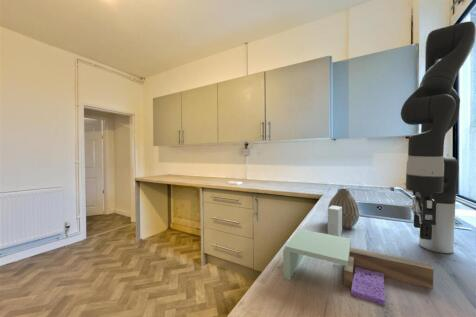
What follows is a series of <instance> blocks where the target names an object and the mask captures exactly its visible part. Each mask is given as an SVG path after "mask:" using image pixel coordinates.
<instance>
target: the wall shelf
mask: <svg viewBox="0 0 476 317" xmlns="http://www.w3.org/2000/svg"><path fill="white" fill-rule="evenodd" d="M351 245H352V238H349V237H348V238H347V237H344V236H340V237H339V236H334V235H328V233H322V232H315V231H311V230H306V229H301V228H299V229H298V230H297V231H296V232H295V234H294V235H293V236H292V237H291V238H290V240H289V241H288V242H287V243H286V244H285V245H284V248H283V249H282V278H284V279H287V280H291V278H293V275H294V273H295V272H296V270H297V268H298V267H299V265H300V263H301V261H302V260H303V257H304V256H306V257H310V258H314V259H318V260H322V261H326V262H329V263H330V262H331V263H335V264H339V265H342V266H343V265H344V266H345V265H346V266H348V260H349V253H350V247H352V246H351Z"/></svg>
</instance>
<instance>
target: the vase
mask: <svg viewBox="0 0 476 317" xmlns="http://www.w3.org/2000/svg"><path fill="white" fill-rule="evenodd" d="M332 205H333V206H339V207H342V230H349V229H352V228H353V227H354V226H356V225H357V223H358V222H359V219H360V208H359V205H358V202H356V199H355V198H354V197H353V196H352V194H351V192H350V189H348V188H338V190H337V193H335V195H334V196H333V197H332V198H331V199H330V201H329V203H328V205H327V206H328V207H327V209H328V208H329V207H331V206H332Z"/></svg>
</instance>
